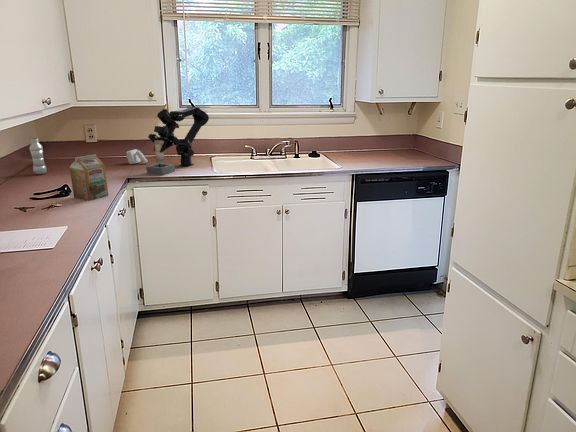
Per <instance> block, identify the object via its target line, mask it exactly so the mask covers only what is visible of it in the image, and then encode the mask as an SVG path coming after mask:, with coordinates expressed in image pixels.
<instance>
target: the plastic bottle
mask: <svg viewBox="0 0 576 432" xmlns="http://www.w3.org/2000/svg"><path fill="white" fill-rule="evenodd" d="M30 142H31V144H30V145H29V151H30V155H31V158H32V166H33V167H32V168H33V169H32V170H33V173H34V174H36V175H44V174H46V173H47V172H48V171H47V165H46V162H45V160H44V159H45V158H44V148H43V147H44V146H43V145H42V144H41V143H40V140H39V138H38V137H33V138H32V137H31V138H30Z"/></svg>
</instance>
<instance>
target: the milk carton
mask: <svg viewBox="0 0 576 432" xmlns="http://www.w3.org/2000/svg"><path fill="white" fill-rule="evenodd" d="M74 160H75V161H73V162H72V163H71V165H70V166H69V172H70V174H69V175H70V179H71V187H72V194H73V198H74V199H78V200H82V201H87V202H90V201H94V200H97V199H101V198H106V197H109V190H108V189H109V188H108V181H107V172H106V166H105V164H104V163H103V162H102V160H101V159H99V158H98V157H97V154H96V153H95V154H88V155H83V156H78V157H75V158H74Z"/></svg>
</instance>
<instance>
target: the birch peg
mask: <svg viewBox="0 0 576 432" xmlns="http://www.w3.org/2000/svg"><path fill="white" fill-rule="evenodd" d="M163 143H164V141H162V140H155V141H154V143H153V144H155V152H154V154H155V164H158V163H163V164H165V156H164V155H165V154H164V151H163V152H160V150H161V148H162V146H163Z"/></svg>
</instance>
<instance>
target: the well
mask: <svg viewBox="0 0 576 432" xmlns="http://www.w3.org/2000/svg"><path fill="white" fill-rule="evenodd" d="M175 167H176V166H175V164H172V163H154V164H150V165H147V166H146V174H147V173H148V175H157V176H158V175H159V176H164V175H165V176H166V175H169V174H170V173H175V172H176V169H175Z"/></svg>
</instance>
